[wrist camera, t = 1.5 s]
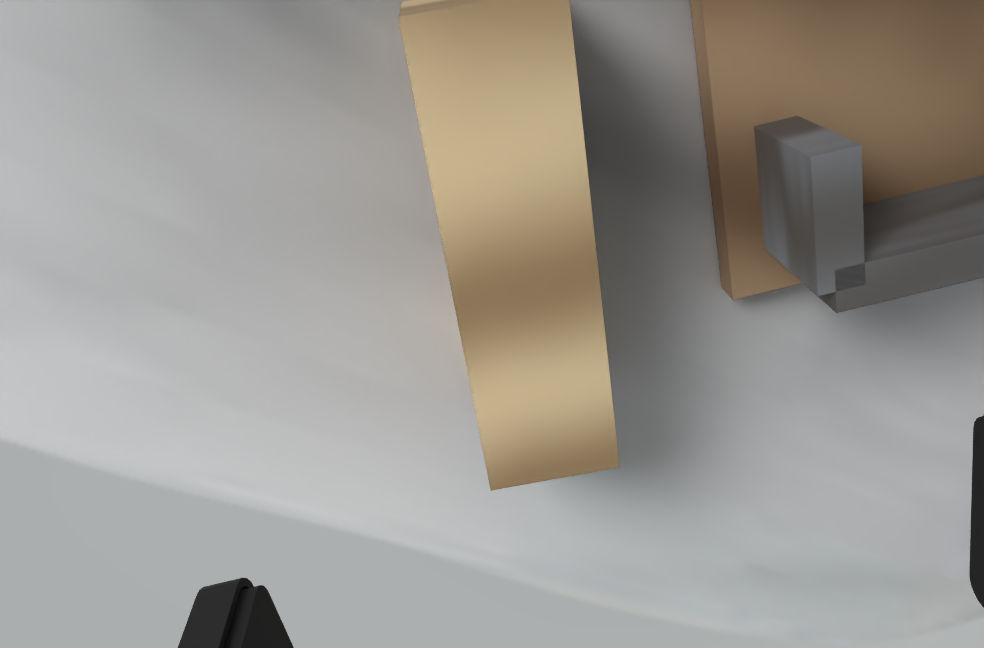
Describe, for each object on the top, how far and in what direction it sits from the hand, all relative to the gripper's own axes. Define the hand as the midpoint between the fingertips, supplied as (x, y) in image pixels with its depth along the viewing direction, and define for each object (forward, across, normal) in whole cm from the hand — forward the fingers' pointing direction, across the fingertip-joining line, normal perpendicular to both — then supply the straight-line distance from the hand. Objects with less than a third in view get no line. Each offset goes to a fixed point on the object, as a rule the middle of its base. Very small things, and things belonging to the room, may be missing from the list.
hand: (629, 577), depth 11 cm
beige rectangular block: (+15, 0, -1) cm, 15 cm away
